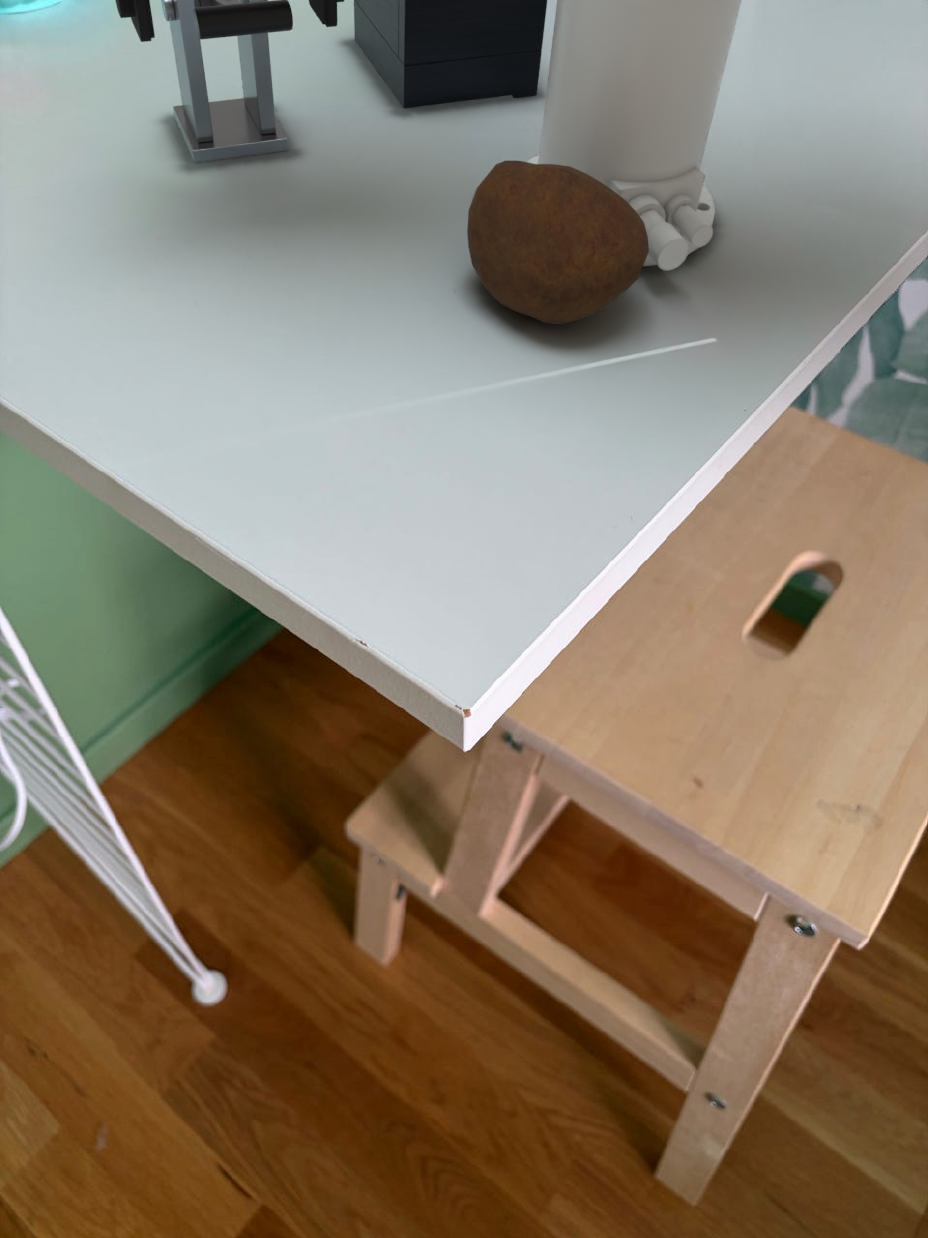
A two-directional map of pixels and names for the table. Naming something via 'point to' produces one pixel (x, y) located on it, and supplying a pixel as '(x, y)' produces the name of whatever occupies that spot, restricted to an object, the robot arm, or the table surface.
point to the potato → (553, 241)
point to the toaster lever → (240, 18)
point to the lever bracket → (229, 121)
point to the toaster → (452, 47)
